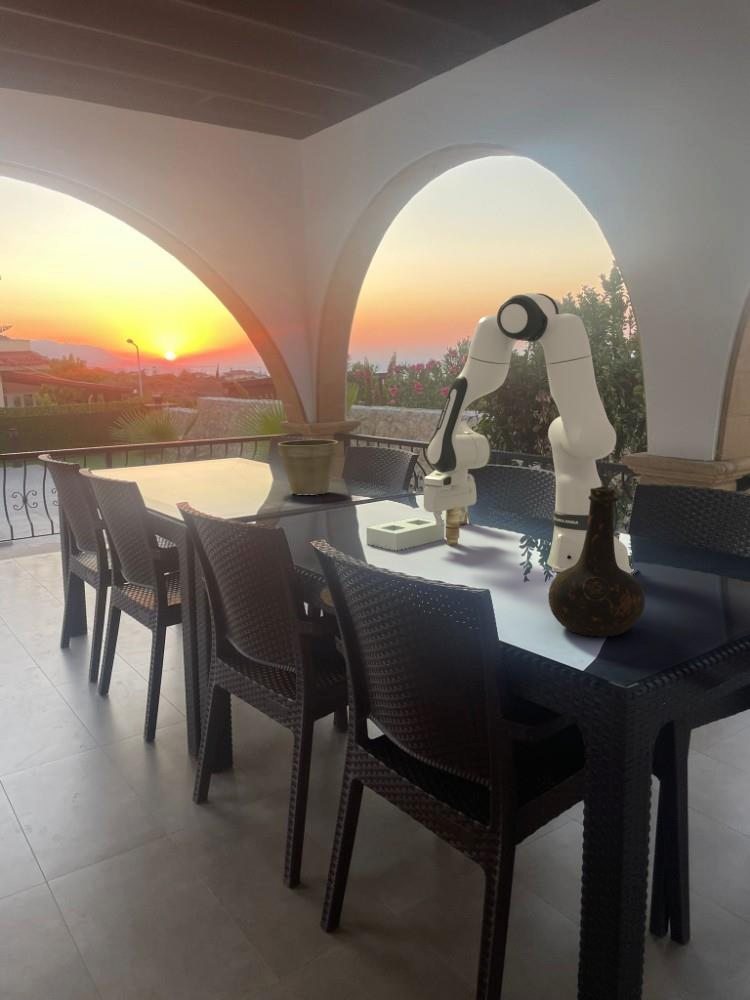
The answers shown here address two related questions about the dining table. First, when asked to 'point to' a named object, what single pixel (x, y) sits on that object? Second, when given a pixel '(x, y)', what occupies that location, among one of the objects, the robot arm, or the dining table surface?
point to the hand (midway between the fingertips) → (450, 523)
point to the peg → (452, 525)
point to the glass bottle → (597, 580)
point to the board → (405, 533)
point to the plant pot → (308, 464)
